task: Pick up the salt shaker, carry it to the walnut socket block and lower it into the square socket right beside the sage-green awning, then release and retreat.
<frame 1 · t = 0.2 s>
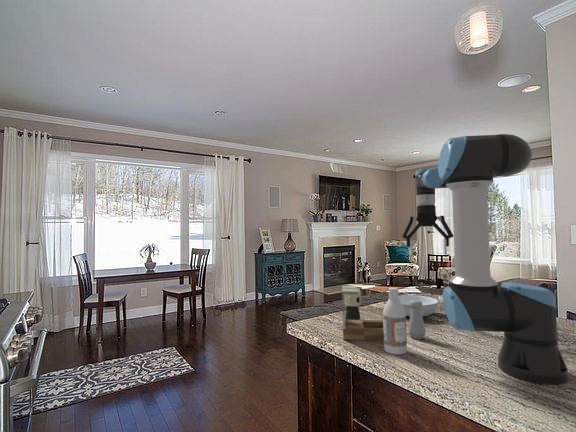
hand: (427, 254, 138), 28 cm above the counter, fingers open, 13 cm apart
bath foam: (395, 351, 103), on the counter
salt shaker: (416, 337, 116), on the counter
serving bowl: (413, 315, 145), on the counter
character mug: (352, 321, 138), on the counter
socket station: (365, 335, 119), on the counter
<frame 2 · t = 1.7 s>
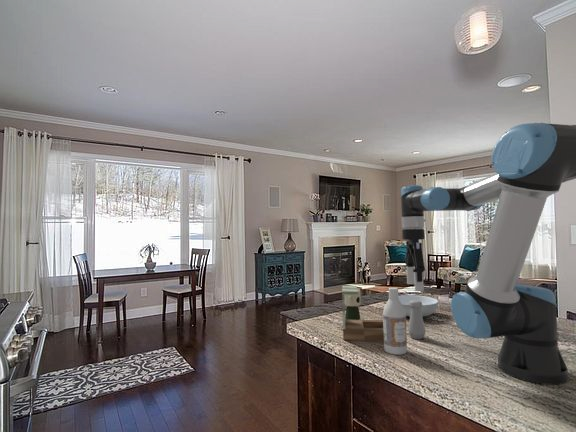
hand: (414, 287, 117), 18 cm above the counter, fingers open, 13 cm apart
nothing on the counter moved.
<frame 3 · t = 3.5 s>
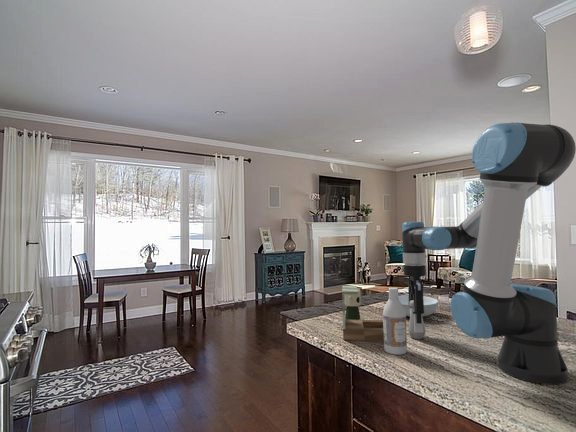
hand: (416, 329, 116), 3 cm above the counter, fingers closed on salt shaker, 6 cm apart
salt shaker: (417, 337, 116), on the counter, touching gripper
everything else where it was.
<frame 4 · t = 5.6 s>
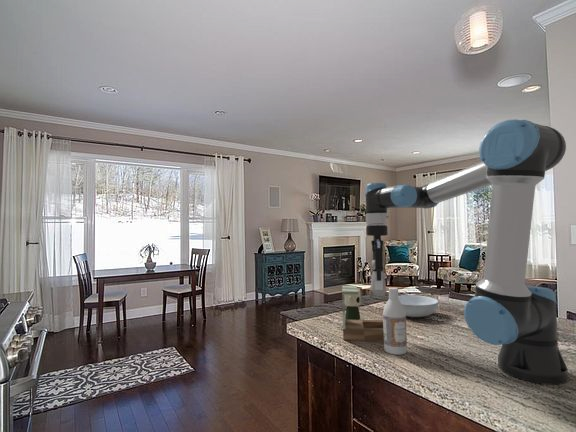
hand: (378, 287, 119), 17 cm above the counter, fingers closed on salt shaker, 6 cm apart
salt shaker: (378, 296, 119), point 14 cm above the counter, touching gripper
everything else where it was.
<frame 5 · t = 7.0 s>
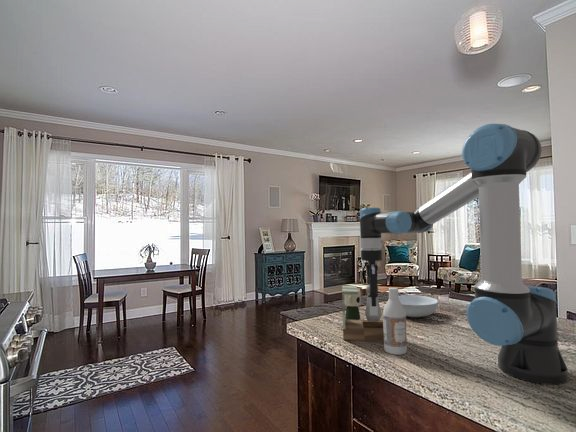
hand: (373, 312, 119), 8 cm above the counter, fingers closed on salt shaker, 6 cm apart
salt shaker: (373, 321, 118), point 5 cm above the counter, touching gripper
everything else where it was.
when the fingers open (5 cm above the counter, at t = 7.9 s): salt shaker drops 2 cm, resting on socket station.
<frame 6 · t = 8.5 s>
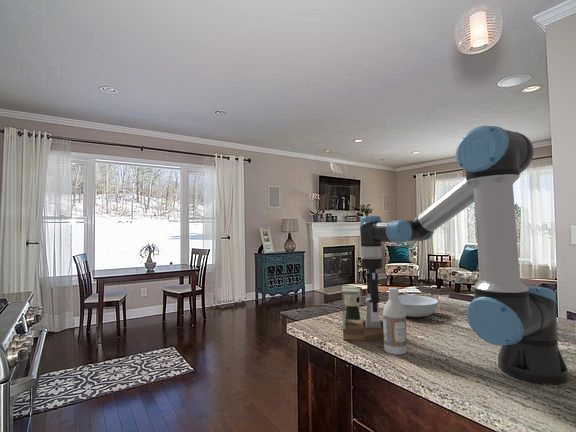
hand: (373, 315, 118), 7 cm above the counter, fingers open, 13 cm apart
salt shaker: (373, 334, 118), resting on socket station
everything else where it was.
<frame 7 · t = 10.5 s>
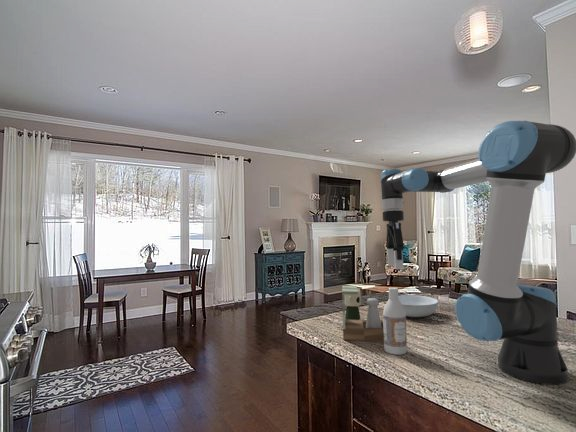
hand: (395, 267, 121), 25 cm above the counter, fingers open, 13 cm apart
nothing on the counter moved.
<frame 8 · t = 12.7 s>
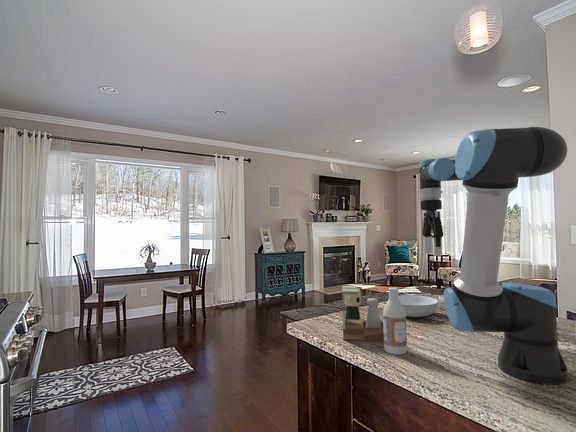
hand: (432, 254, 125), 29 cm above the counter, fingers open, 13 cm apart
nothing on the counter moved.
at the end: salt shaker 0.1 cm from the target spot on the socket station, point 0.3 cm above the socket station's base; salt shaker tilted 0°; the gripper is holding nothing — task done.
